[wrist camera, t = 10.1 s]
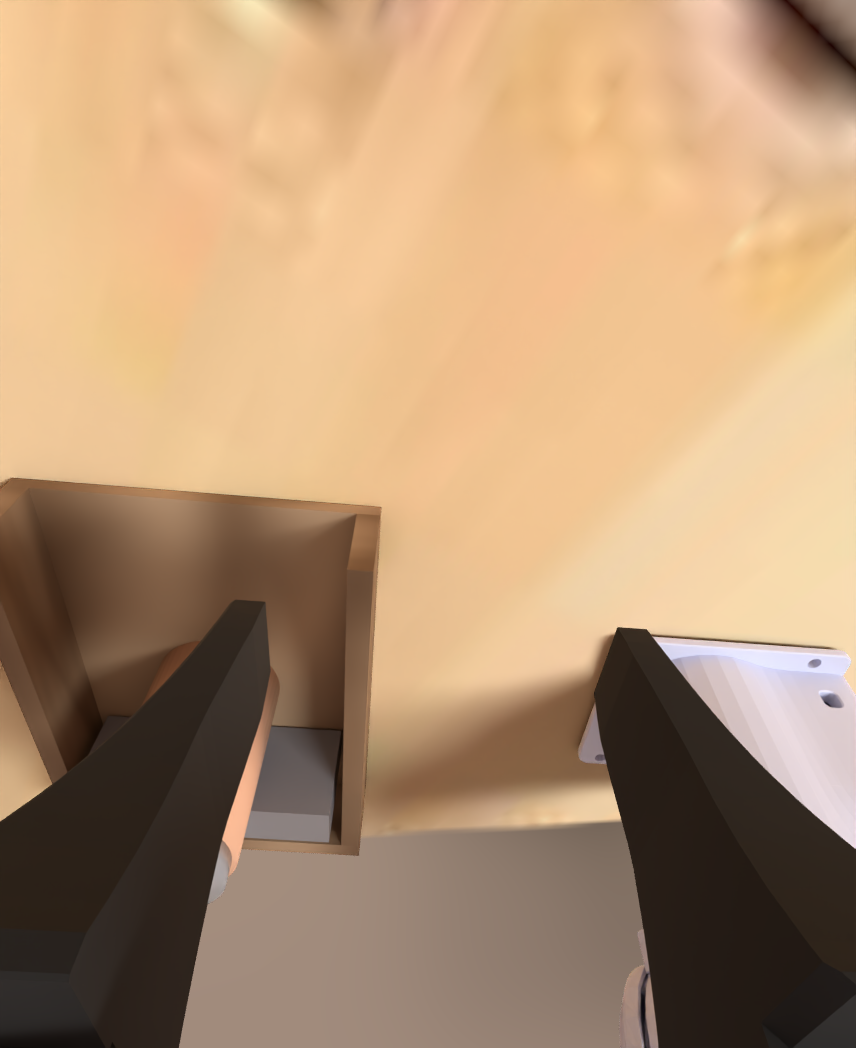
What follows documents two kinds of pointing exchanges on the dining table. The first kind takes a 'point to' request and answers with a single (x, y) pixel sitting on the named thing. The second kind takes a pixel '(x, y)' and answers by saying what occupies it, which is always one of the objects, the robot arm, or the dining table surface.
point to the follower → (287, 783)
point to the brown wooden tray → (186, 612)
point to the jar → (250, 775)
